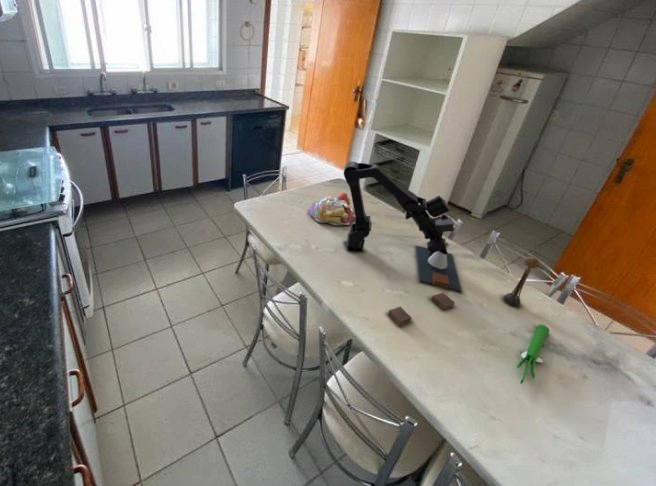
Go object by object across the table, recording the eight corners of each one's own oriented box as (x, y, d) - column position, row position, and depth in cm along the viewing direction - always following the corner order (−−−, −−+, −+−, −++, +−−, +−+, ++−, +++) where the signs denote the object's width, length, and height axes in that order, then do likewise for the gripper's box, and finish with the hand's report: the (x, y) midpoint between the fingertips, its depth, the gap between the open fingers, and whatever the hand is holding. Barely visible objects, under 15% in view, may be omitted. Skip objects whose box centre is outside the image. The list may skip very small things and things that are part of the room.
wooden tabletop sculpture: (525, 306, 117) (550, 262, 108) (518, 310, 115) (543, 266, 106) (507, 295, 122) (529, 251, 113) (500, 299, 120) (523, 255, 111)
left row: (387, 314, 111) (389, 310, 110) (441, 296, 120) (442, 292, 119) (398, 326, 107) (400, 321, 106) (453, 306, 115) (454, 302, 115)
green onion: (533, 328, 109) (508, 380, 91) (538, 321, 108) (514, 372, 89) (551, 338, 106) (530, 394, 87) (556, 331, 105) (535, 386, 86)
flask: (450, 265, 133) (458, 245, 128) (441, 271, 129) (449, 251, 124) (433, 255, 138) (440, 236, 133) (424, 261, 134) (431, 241, 129)
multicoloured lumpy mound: (360, 228, 158) (364, 211, 154) (311, 225, 158) (314, 209, 154) (348, 203, 180) (351, 188, 176) (305, 200, 180) (307, 185, 176)
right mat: (419, 282, 126) (421, 277, 124) (416, 246, 147) (417, 241, 145) (460, 293, 121) (463, 287, 120) (450, 254, 142) (453, 249, 141)
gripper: (448, 224, 116) (472, 257, 118) (441, 201, 132) (462, 231, 133) (417, 237, 122) (441, 268, 124) (415, 213, 138) (435, 242, 139)
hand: (446, 251), depth 130 cm, fingers closed on flask, 3 cm apart
